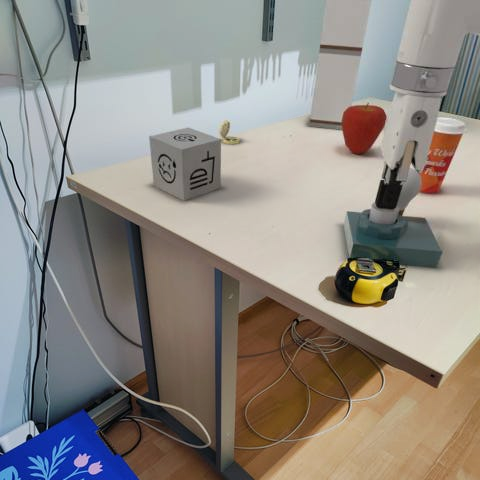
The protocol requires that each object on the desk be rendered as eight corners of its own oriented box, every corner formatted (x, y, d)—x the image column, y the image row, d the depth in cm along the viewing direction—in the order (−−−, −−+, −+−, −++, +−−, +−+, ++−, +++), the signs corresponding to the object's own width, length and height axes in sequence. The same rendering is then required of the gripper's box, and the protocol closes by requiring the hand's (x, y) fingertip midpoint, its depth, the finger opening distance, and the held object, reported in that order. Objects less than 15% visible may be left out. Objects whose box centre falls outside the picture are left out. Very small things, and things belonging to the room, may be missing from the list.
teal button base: (420, 232, 78) (428, 207, 74) (436, 267, 68) (447, 240, 65) (343, 226, 78) (349, 200, 75) (349, 259, 69) (355, 232, 66)
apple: (357, 143, 118) (367, 95, 110) (386, 155, 111) (399, 105, 103) (327, 149, 113) (335, 99, 105) (356, 161, 106) (367, 109, 98)
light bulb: (405, 230, 78) (422, 177, 72) (374, 222, 80) (388, 169, 74) (412, 218, 82) (429, 167, 76) (382, 210, 84) (396, 160, 78)
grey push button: (392, 215, 72) (396, 202, 71) (397, 227, 69) (401, 214, 67) (366, 213, 72) (370, 200, 71) (370, 225, 69) (373, 211, 68)
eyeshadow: (234, 145, 112) (234, 125, 109) (218, 141, 114) (218, 122, 111) (242, 141, 115) (243, 121, 112) (226, 137, 117) (226, 118, 114)
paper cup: (405, 190, 93) (425, 122, 84) (410, 179, 98) (430, 114, 89) (442, 198, 90) (467, 129, 81) (445, 186, 96) (469, 120, 87)
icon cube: (220, 188, 90) (221, 139, 83) (183, 200, 84) (181, 149, 78) (190, 174, 95) (188, 127, 89) (153, 185, 89) (149, 136, 83)
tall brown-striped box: (347, 121, 135) (374, -19, 113) (346, 130, 127) (375, -18, 105) (312, 117, 137) (331, -21, 115) (309, 126, 129) (329, -21, 107)
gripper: (465, 93, 51) (418, 229, 63) (435, 71, 63) (399, 190, 75) (403, 88, 52) (367, 224, 63) (384, 68, 63) (357, 186, 75)
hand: (385, 205), depth 69 cm, fingers closed
